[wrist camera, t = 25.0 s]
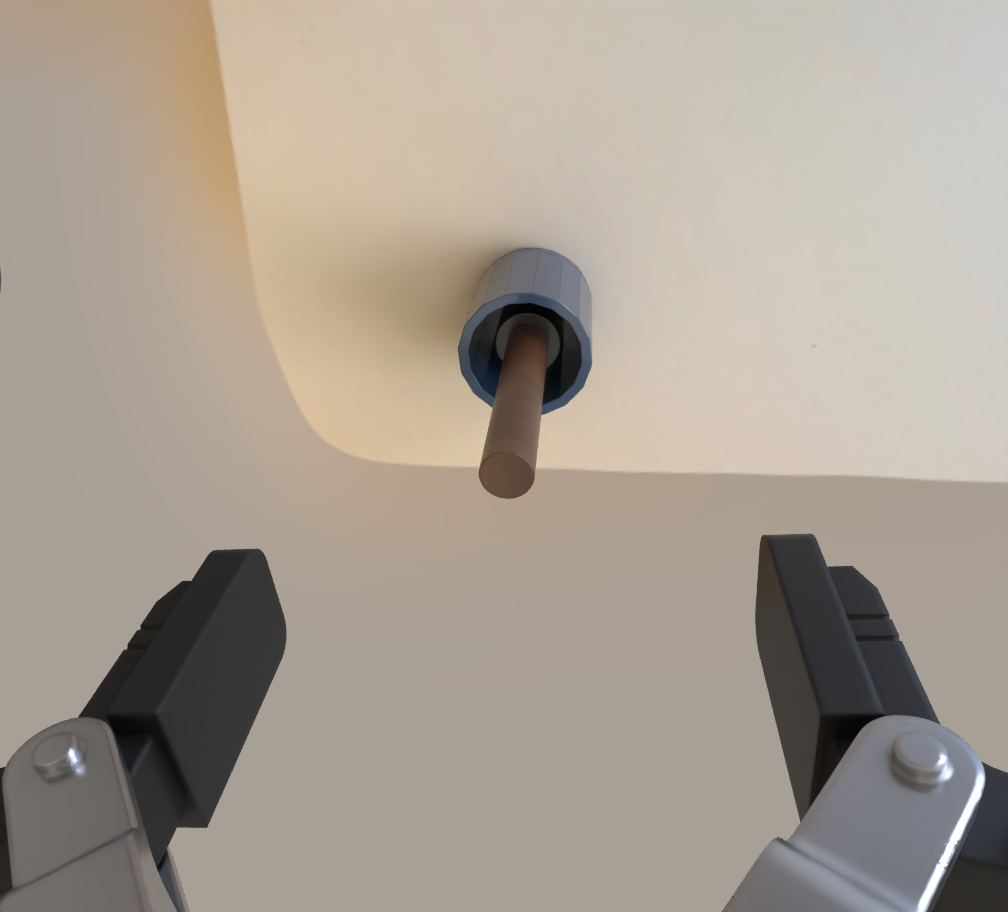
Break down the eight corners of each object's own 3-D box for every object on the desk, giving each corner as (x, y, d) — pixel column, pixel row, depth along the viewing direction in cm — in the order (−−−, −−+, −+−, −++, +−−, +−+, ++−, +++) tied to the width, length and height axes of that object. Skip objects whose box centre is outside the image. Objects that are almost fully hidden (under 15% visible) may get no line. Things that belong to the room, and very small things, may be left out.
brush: (506, 337, 45) (468, 514, 31) (500, 280, 44) (456, 439, 29) (565, 333, 45) (554, 511, 30) (561, 276, 43) (547, 434, 29)
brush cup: (483, 360, 47) (467, 419, 41) (469, 252, 43) (450, 298, 37) (593, 353, 46) (594, 412, 40) (588, 243, 43) (587, 288, 37)
